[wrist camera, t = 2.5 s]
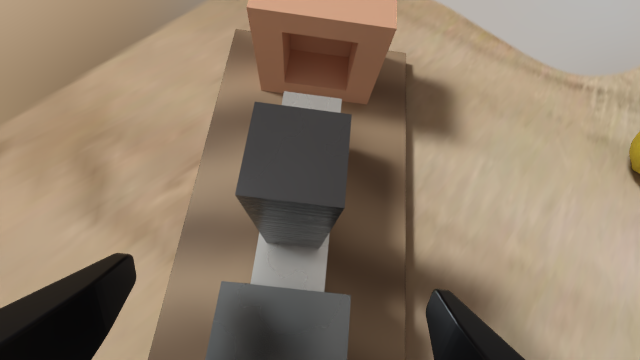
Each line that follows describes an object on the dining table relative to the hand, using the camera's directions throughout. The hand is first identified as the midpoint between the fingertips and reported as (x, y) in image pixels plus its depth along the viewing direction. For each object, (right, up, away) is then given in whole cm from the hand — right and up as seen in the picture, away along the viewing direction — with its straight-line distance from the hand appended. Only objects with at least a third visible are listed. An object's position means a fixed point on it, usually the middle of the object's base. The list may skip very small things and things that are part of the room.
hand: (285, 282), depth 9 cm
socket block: (+1, +12, +14) cm, 18 cm away
